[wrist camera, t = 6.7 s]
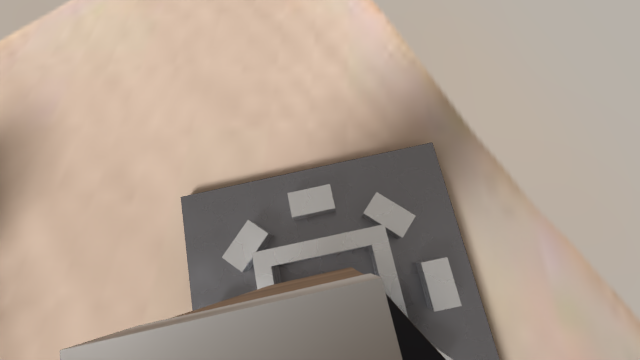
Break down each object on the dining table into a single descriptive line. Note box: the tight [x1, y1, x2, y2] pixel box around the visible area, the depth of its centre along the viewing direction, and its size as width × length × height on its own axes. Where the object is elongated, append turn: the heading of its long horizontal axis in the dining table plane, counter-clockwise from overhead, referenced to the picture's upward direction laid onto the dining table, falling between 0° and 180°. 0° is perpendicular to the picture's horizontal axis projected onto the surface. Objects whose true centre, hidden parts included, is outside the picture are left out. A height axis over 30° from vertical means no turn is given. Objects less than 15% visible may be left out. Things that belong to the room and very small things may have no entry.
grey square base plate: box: [181, 143, 499, 360], centre depth 20 cm, size 18×18×4 cm
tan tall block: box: [60, 267, 402, 360], centre depth 9 cm, size 4×4×12 cm
